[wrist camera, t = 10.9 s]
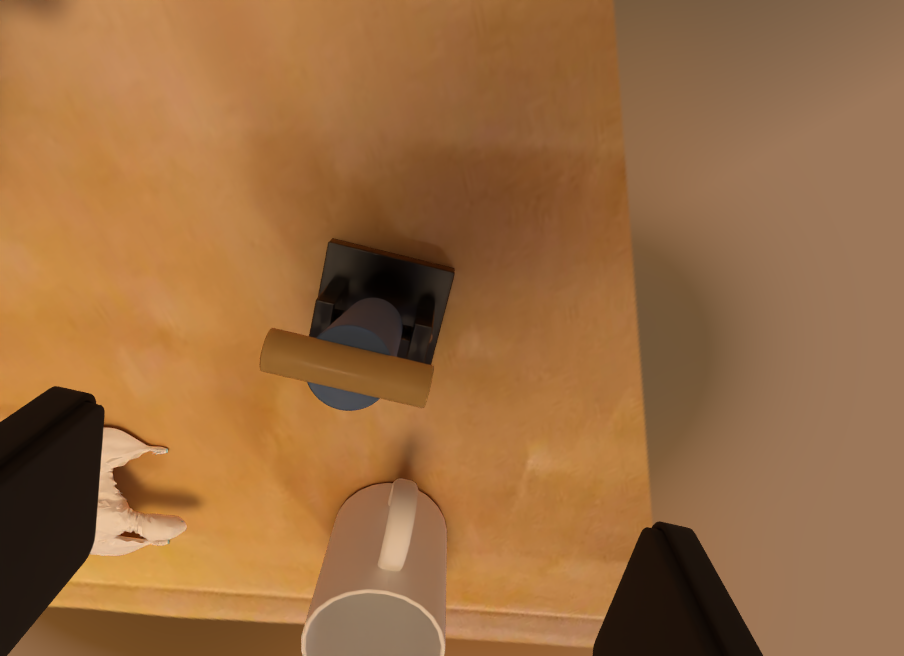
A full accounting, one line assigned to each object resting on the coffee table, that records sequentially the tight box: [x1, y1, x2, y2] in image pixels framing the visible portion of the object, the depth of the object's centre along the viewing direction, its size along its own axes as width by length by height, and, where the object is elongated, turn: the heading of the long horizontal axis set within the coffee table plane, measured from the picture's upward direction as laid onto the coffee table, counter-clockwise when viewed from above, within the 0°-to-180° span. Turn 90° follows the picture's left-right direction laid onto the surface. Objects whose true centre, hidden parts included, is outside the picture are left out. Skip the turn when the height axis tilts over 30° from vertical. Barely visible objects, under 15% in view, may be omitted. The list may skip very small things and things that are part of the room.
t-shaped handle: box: [260, 298, 434, 411], centre depth 28 cm, size 12×6×3 cm
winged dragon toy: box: [90, 428, 187, 556], centre depth 41 cm, size 18×10×4 cm, turn 83°
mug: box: [301, 478, 447, 656], centre depth 38 cm, size 12×8×10 cm, turn 168°
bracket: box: [309, 238, 455, 365], centre depth 36 cm, size 6×8×6 cm
